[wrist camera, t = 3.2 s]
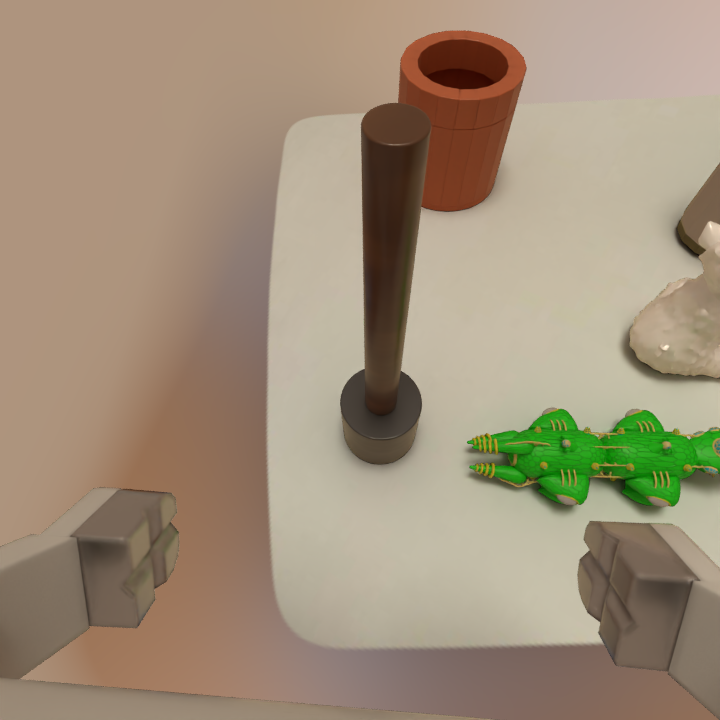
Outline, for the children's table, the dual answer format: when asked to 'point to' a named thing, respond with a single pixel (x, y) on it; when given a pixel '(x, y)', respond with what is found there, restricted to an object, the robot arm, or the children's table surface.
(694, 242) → the bottle
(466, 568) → the children's table surface
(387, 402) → the rod on round base
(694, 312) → the sitting furry creature
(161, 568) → the robot arm
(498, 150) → the terracotta flower pot
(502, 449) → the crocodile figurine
